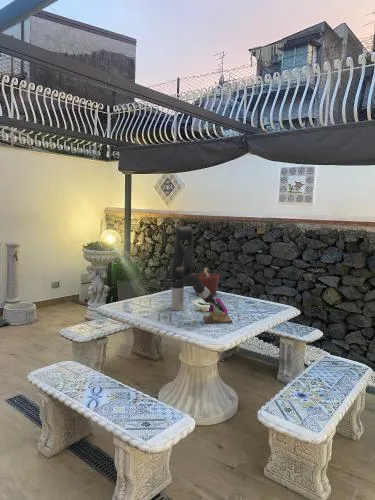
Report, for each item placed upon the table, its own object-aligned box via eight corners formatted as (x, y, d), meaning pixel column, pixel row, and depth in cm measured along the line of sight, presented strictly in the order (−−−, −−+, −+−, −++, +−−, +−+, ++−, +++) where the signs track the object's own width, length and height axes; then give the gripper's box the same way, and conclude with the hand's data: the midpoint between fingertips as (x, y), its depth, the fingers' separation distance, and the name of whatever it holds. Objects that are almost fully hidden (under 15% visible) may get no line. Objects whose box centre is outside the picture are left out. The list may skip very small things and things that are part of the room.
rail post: (213, 317, 261) (213, 303, 260) (218, 317, 263) (218, 303, 262) (216, 319, 258) (216, 305, 257) (221, 318, 260) (221, 304, 259)
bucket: (213, 299, 318) (214, 271, 315) (189, 297, 326) (189, 269, 323) (221, 293, 341) (221, 266, 338) (198, 291, 349) (198, 265, 346)
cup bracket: (202, 317, 266) (203, 310, 266) (227, 317, 269) (227, 309, 268) (206, 323, 253) (206, 315, 252) (232, 323, 255) (232, 315, 254)
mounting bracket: (226, 322, 277) (216, 306, 291) (229, 313, 273) (219, 297, 287) (215, 323, 273) (205, 307, 287) (218, 314, 269) (208, 298, 283)
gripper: (214, 292, 248) (228, 307, 255) (203, 288, 261) (217, 302, 268) (207, 300, 247) (221, 315, 253) (196, 296, 259) (210, 310, 266)
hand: (219, 308), depth 260 cm, fingers open, 8 cm apart
